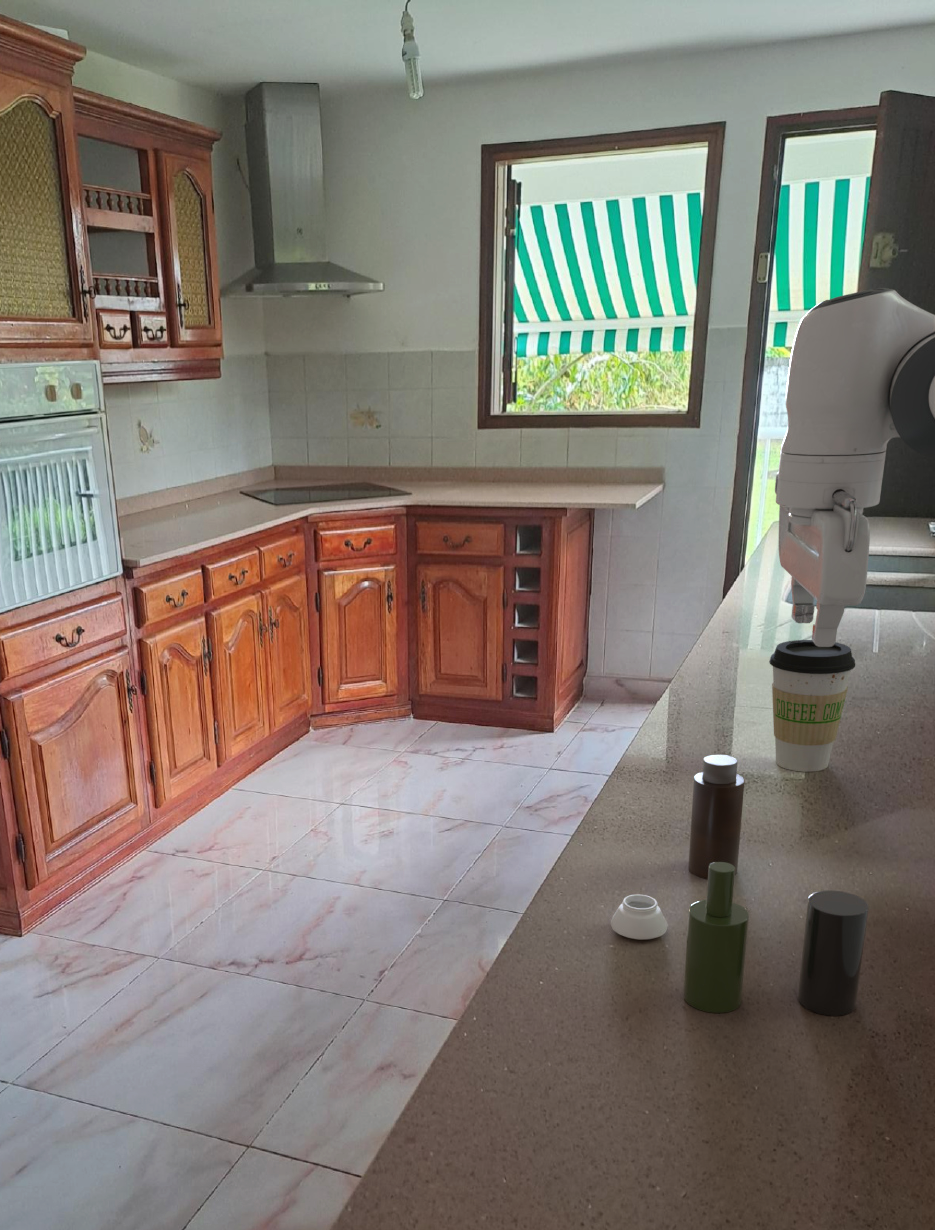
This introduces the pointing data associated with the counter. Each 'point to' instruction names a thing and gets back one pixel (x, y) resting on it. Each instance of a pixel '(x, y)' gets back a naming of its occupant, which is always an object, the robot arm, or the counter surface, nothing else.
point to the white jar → (639, 918)
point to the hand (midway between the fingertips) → (811, 633)
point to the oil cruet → (716, 945)
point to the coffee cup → (808, 701)
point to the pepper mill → (716, 815)
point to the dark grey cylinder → (832, 952)
